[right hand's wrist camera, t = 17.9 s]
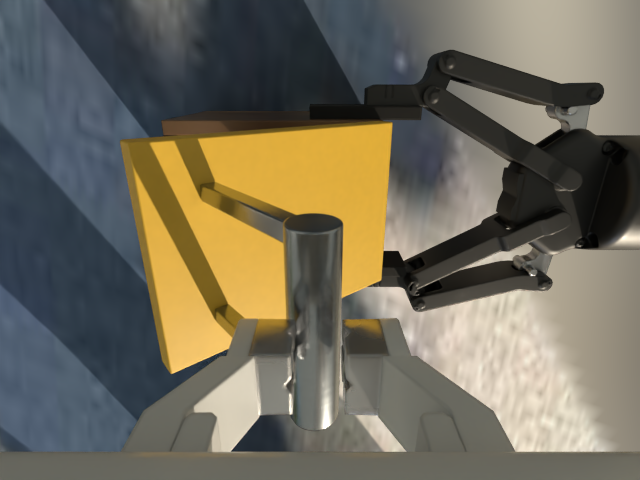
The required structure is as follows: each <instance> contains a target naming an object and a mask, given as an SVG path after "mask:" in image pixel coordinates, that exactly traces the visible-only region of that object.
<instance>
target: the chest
mask: <svg viewBox="0 0 640 480" xmlns="http://www.w3.org/2000/svg"><path fill="white" fill-rule="evenodd" d="M370 121H383V120H380V119H310V111H204V112H200V113H195V114H190V115H185V116H180V117H175V118H171V119H166V120H162V121H161V122H162V129H163V134H164V137H165V136H178V135H192V134H206V133H219V132H233V131H247V130H260V129H274V128H288V127H302V126H315V125H329V124H343V123H356V122H370Z"/></svg>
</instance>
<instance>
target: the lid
mask: <svg viewBox="0 0 640 480" xmlns="http://www.w3.org/2000/svg"><path fill="white" fill-rule="evenodd" d="M391 136H392V122H385V121H370V122H356V123H343V124H329V125H315V126H302V127H288V128H274V129H260V130H247V131H233V132H219V133H206V134H192V135H178V136H165V137H151V138H137V139H123V140H120V144H121V149H122V155H123V160H124V165H125V170H126V175H127V181H128V186H129V191H130V196H131V201H132V206H133V212H134V217H135V222H136V227H137V232H138V237H139V243H140V248H141V253H142V258H143V263H144V269H145V274H146V279H147V284H148V289H149V294H150V300H151V305H152V310H153V315H154V320H155V325H156V331H157V336H158V341H159V346H160V351H161V357H162V361H163V363H164V364H165V366H166V368H167V369H168V371H169V372H170V373H171V374H173V373H175V372H177V371H179V370H182V369H184V368H186V367H188V366H191V365H193V364H195V363H197V362H200V361H202V360H204V359H206V358H208V357H211V356H213V355H215V354H217V353H220V352H222V351H224V350H226V349H229V346H230V344H231V341H232V338H233V335H234V332H235V329H236V327H237V324H238V321H239V320H240V319H249V318H258V319H295V324H296V338H295V345H296V381H295V382H294V404H293V414H290V416H291V418H292V420H293V421H294V423H295V424H296V425H298V426H299V427H301V428H303V429H306V430H310V431H317V430H322V429H325V428H327V427H329V426H330V425H331V424H333V422H334V421H335V420H336V418H337V416H338V412H339V375H340V338H341V300H342V297H345V296H347V295H349V294H351V293H354V292H356V291H358V290H360V289H363V288H365V287H367V286H369V285H371V284H374V283H376V282H378V281H380V280H381V277H382V263H383V249H384V235H385V221H386V207H387V192H388V178H389V164H390V150H391Z"/></svg>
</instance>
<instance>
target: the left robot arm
mask: <svg viewBox="0 0 640 480" xmlns="http://www.w3.org/2000/svg"><path fill="white" fill-rule="evenodd" d="M427 66H428V67H427V70H426V72H425V74H424V76H423V78H422V79H421V81H420V82H418V83H417V84H414V85H372V86H369V87H367V88H365V95H364V104H310V119H380V120H421V114H422V107H423V108H425V109H426V110H428V111H430V112H431V113H433V114H434V115H436V116H438V117H439V118H441V119H443V120H444V121H446V122H447V123H449V124H451V125H452V126H454V127H455V128H457V129H459V130H460V131H462V132H463V133H465V134H467V135H468V136H470V137H472V138H473V139H475V140H476V141H478V142H480V143H481V144H483V145H484V146H486V147H488V148H489V149H491V150H492V151H494V152H495V153H496V154H498V155H499V156H501V157H502V158H504V159H506V160H507V161H509V162H511V163H510V164H509V166H508V168H504V171H503V177H502V183H503V191H502V193H501V195H500V198H499V200H498V203H497V209H496V212H498V213H496V214H494V215H492V216H490V217H488V218H486V219H484V220H483V221H482V223H481V224H480V225H478V226H476V227H474V228H472V229H470V230H468V231H466V232H464V233H462V234H459V235H457V236H455V237H453V238H451V239H449V240H447V241H445V242H443V243H441V244H438V245H436V246H434V247H432V248H430V249H428V250H426V251H424V252H422V253H419V254H417V255H415V256H413V257H411V258H409V259H407V260H405V261H403V259H402V257H401V255H400V253H399V251H383V263H382V277H381V280H380V281H378V282H376V283H374V284H371V285H369V286H367V287H401V288H404V289H405V291H406V294H407V296H408V298H409V301H410V303H411V305H412V307H413V309H414V310H415V311H417V312H423V311H427V310H432V309H436V308H441V307H445V306H450V305H454V304H459V303H463V302H468V301H472V300H477V299H481V298H485V297H490V296H494V295H499V294H503V293H508V292H512V291H517V290H523V291H535V292H545V291H547V290H549V289H550V288H551V286H552V283H553V282H552V279H550V278H549V277H548V276H547V275H546V273H547V270H548V267H549V265H550V262H551V259H552V256H553V255H556V254H559V253H561V252H564V251H566V250H569V249H588V250H640V136H630V135H626V136H625V135H595V134H593V133H592V132H590V131H589V130H586V126H587V121H588V115H589V109H590V105H593V104H596V103H597V102H599V101H600V100H601V98H602V97H603V94H604V88H603V86H602V85H601V84H600V83H565V84H560V83H557V82H553V81H550V80H547V79H544V78H541V77H538V76H534V75H531V74H528V73H525V72H522V71H518V70H515V69H512V68H509V67H506V66H503V65H499V64H496V63H493V62H490V61H487V60H484V59H481V58H477V57H474V56H471V55H468V54H465V53H462V52H458V51H455V50H447V51H444V52H440V53H437V54H434V55H433V56H431V57H430V59H429V61H428V65H427ZM450 80H453V81H456V82H460V83H463V84H466V85H469V86H473V87H476V88H479V89H482V90H486V91H489V92H492V93H495V94H499V95H502V96H505V97H508V98H512V99H515V100H518V101H521V102H525V103H529V104H533V105H543V106H546V112H547V114H548V116H549V117H550V118H553V119H557V120H559V122H560V123H561V129H559V130H557V131H556V132H554V133H553V134H551V135H550V136H548V137H546V138H545V139H543V140H542V141H540V142H539V143H537V144H535V145H534V144H532V143H530V142H528V141H526V140H524V139H522V138H520V137H519V136H517V135H516V134H514V133H513V132H511V131H509V130H508V129H506V128H505V127H503V126H502V125H500V124H498V123H497V122H495V121H494V120H492V119H491V118H489V117H487V116H486V115H484V114H483V113H481V112H480V111H478V110H477V109H475V108H473V107H472V106H470V105H469V104H467V103H466V102H464V101H462V100H461V99H459V98H458V97H456V96H455V95H453V94H452V93H450V92H448V91H447V90H446V88H447V86H448V83H449V81H450ZM506 228H509V229H506ZM526 244H529V245H531V246H532V247H533V249H532V251H531V252H530V253H528V254H527V255H522V256H519V255H516V256H514V257H513V261H499V262H494V263H489V264H485V265H481V266H477V267H472V268H468V269H464V270H461V269H463V268H465V267H467V266H470V265H472V264H474V263H476V262H478V261H481V260H483V259H485V258H487V257H489V256H491V255H494V254H496V253H498V252H501V251H512V250H515V249H517V248H519V247H521V246H523V245H526Z"/></svg>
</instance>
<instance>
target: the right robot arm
mask: <svg viewBox="0 0 640 480" xmlns="http://www.w3.org/2000/svg"><path fill="white" fill-rule="evenodd" d="M295 338H296V324H295V319H258V318H249V319H240V320H239V321H238V324H237V327H236V329H235V332H234V335H233V338H232V341H231V344H230V346H229V349H228V352H227V355H226V356H220V357H219V358H217V359H216V360H215V361H213V362H212V363H210V364H209V365H207V366H206V367H205V368H203V369H202V370H200V371H199V372H198V373H196V374H195V375H193V376H192V377H190V378H189V379H188V380H186V381H185V382H183V383H182V384H181V385H179V386H178V387H176V388H175V389H174V390H172V391H171V392H169V393H168V394H166V395H165V396H164V397H162V398H161V399H159V400H158V401H157V402H155V403H154V404H152V405H151V406H149V407H148V408H147V409H145V410H144V411H143V413H142V414H141V416H140V418H139V420H138V422H137V423H136V425H135V427H134V429H133V431H132V432H131V434H130V436H129V438H128V440H127V441H126V443H125V445H124V447H123V449H122V450H121V452H0V480H640V452H515V450H514V448H513V446H512V444H511V443H510V441H509V439H508V437H507V435H506V433H505V431H504V430H503V428H502V426H501V424H500V422H499V420H498V418H497V417H496V415H495V413H494V411H493V410H491V409H490V408H488V407H487V406H486V405H484V404H483V403H481V402H480V401H479V400H477V399H476V398H474V397H473V396H472V395H470V394H469V393H467V392H466V391H465V390H463V389H462V388H460V387H459V386H458V385H456V384H455V383H453V382H452V381H451V380H449V379H448V378H446V377H445V376H444V375H442V374H441V373H439V372H438V371H437V370H435V369H434V368H433V367H431V366H430V365H428V364H427V363H426V362H424V361H423V360H421V359H420V358H419V357H417V356H411V354H410V351H409V348H408V345H407V342H406V340H405V337H404V334H403V331H402V328H401V325H400V322H399V320H398V319H397V318H389V319H360V320H342V341H343V345H342V347H341V368H342V382H343V397H344V408H345V414H349V415H379V416H378V417H379V418H380V419H381V421H382V422H383V423H384V424H385V426H386V427H387V428H388V429H389V430H390V432H391V433H392V434H393V435H394V437H395V438H396V439H397V440H398V441H399V443H400V444H401V445H402V446H403V448H404V449H405V450H406V451H407V452H231V451H232V449H233V448H234V447H235V446H236V444H237V443H238V442H239V441H240V440H241V438H242V437H243V436H244V435H245V434H246V432H247V431H248V430H249V429H250V428H251V426H252V425H253V424H254V423H255V422H256V420H257V419H258V418H259V415H287V414H293V404H294V382H295V381H296V345H295Z"/></svg>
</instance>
